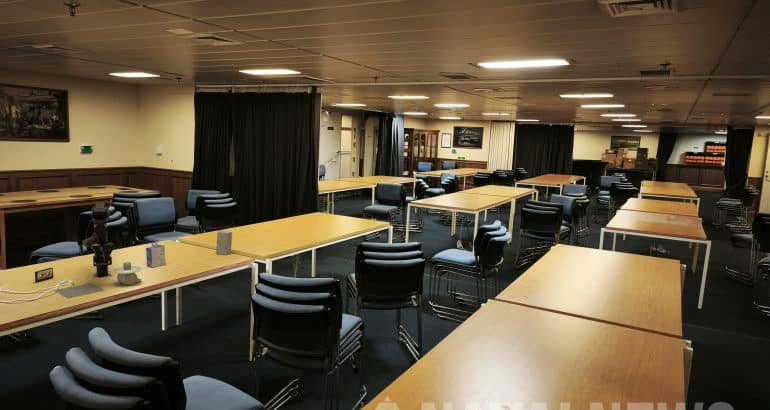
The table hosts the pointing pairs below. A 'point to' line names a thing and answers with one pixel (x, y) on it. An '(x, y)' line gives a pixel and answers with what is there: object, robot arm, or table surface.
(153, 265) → the ink cartridge box
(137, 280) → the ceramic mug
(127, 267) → the round lid
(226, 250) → the skincare box
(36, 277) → the audio cassette
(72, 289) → the rubber mat
